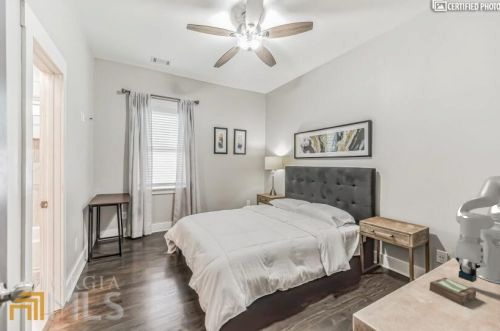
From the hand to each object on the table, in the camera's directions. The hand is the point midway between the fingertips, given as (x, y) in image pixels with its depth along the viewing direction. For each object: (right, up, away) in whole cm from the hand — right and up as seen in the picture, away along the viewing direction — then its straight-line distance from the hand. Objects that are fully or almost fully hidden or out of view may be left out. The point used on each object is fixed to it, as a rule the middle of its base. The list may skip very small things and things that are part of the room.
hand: (467, 273), depth 114 cm
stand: (-15, -6, -8) cm, 18 cm away
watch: (0, -3, 0) cm, 3 cm away
